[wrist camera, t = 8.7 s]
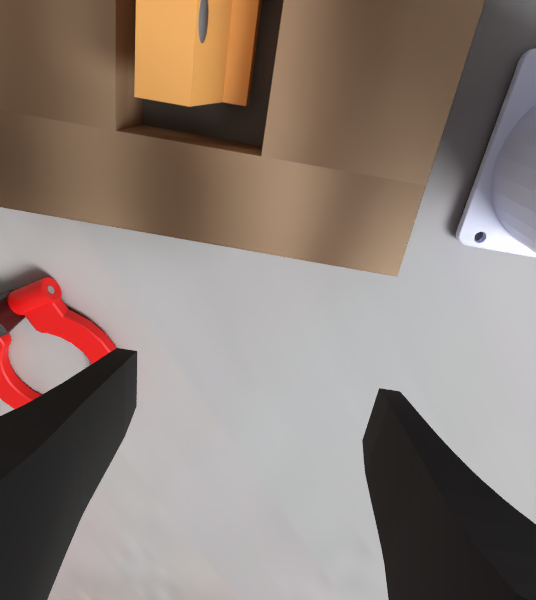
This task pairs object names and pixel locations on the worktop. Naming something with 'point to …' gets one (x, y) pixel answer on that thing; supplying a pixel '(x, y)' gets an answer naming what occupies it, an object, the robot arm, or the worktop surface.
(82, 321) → the tow hook
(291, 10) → the well board
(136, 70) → the orange t-shaped beam
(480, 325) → the worktop surface
